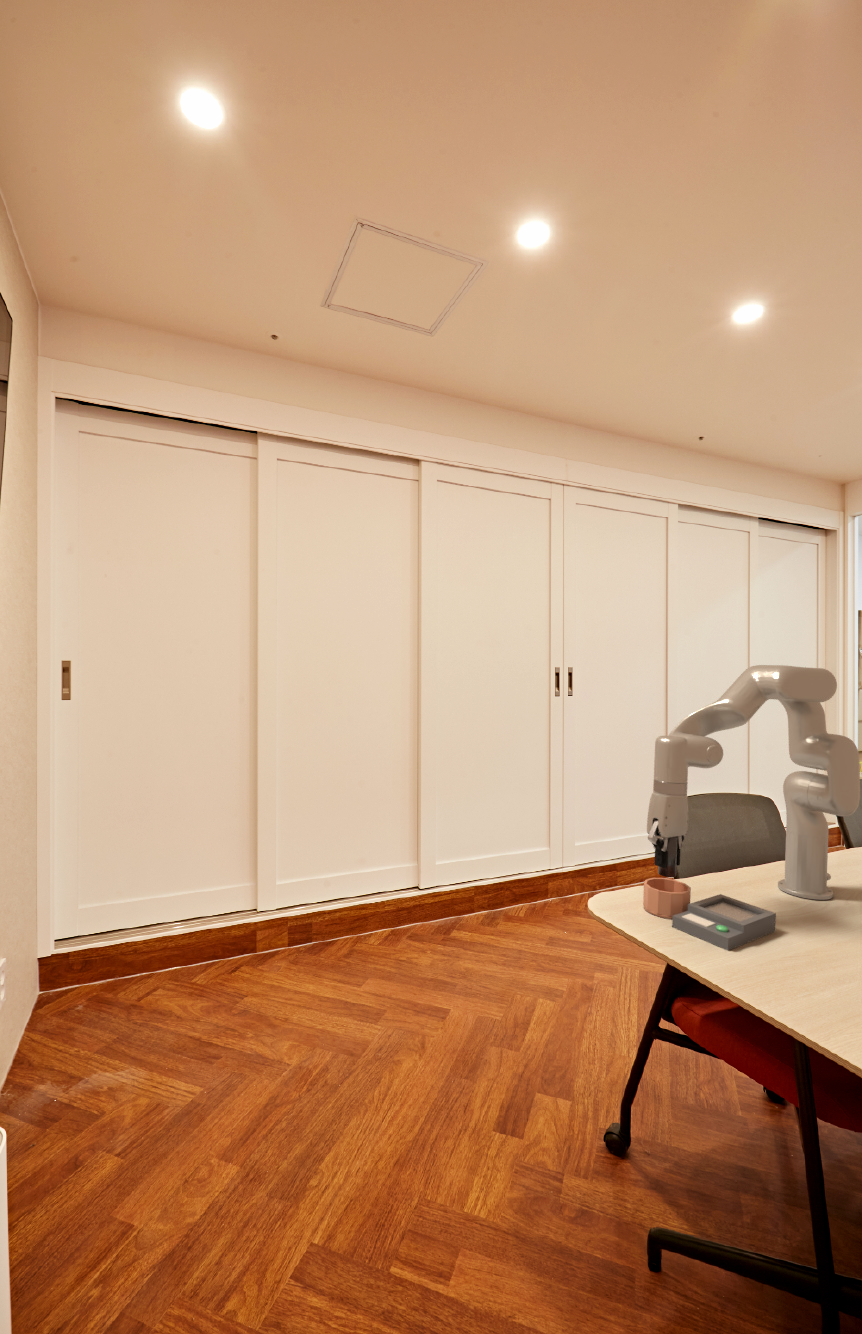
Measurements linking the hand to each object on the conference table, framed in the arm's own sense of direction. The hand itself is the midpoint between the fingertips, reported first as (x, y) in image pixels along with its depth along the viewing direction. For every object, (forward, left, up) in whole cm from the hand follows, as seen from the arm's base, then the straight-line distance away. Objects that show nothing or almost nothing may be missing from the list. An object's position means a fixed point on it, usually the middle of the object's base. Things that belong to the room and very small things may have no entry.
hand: (667, 864), depth 146 cm
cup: (0, 0, -11) cm, 11 cm away
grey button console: (-2, +13, -11) cm, 17 cm away
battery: (0, 0, -2) cm, 2 cm away
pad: (-5, +13, -9) cm, 17 cm away
